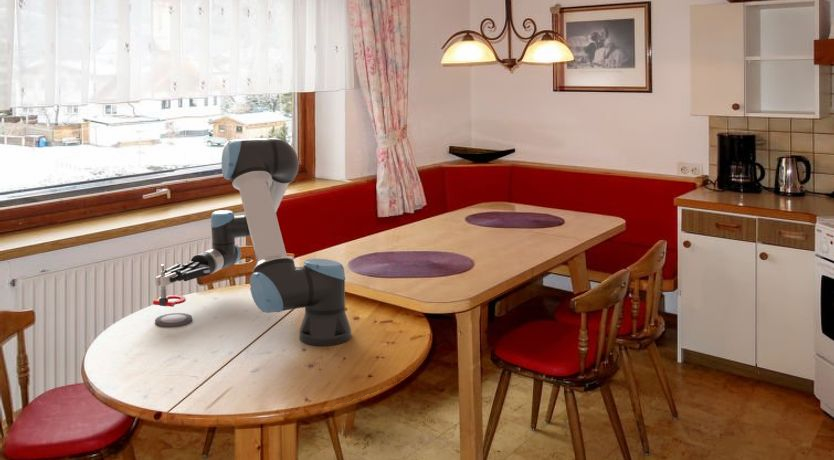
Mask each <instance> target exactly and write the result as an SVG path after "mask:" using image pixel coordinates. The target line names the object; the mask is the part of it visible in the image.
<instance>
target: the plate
mask: <svg viewBox="0 0 834 460" xmlns="http://www.w3.org/2000/svg"><path fill="white" fill-rule="evenodd" d="M192 321H193V316H192V315H191V314H189V313H185V312H184V313H183V312H174V313H173V312H172V313H167V314H162V315H159V316H157V317H156V318H155V320H154V322H155V323H154V324H155V325H156V326H159V327H160V328H161V327H162V328H163V327H164V328H176V327H181V326H186V325H188V324H190V323H192Z"/></svg>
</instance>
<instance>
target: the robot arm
mask: <svg viewBox="0 0 834 460" xmlns="http://www.w3.org/2000/svg"><path fill="white" fill-rule="evenodd" d="M221 154H222V155H221V173H222V177H223V179H225V180H227V181H230V180H231V184H232V187H233V188H234V189H236V190H238V191H239V195H240V198H241V203H242V207H243V211H244V214H241V215H235V214H234V212H233V211H232V210H225V209H224V210H216V211H213V212H212V213H211V214H210V215H211V216H210V228H211V249H208V250H205V251H203V252H201V253H198V254H196V255H194V256H192V258H191V260H190V261H187V262H185V263H183V264H181V263H180V262H175V264H173V265H172V266H170V267H168V268H166V269H164V271H165V276H164V277H161V274H159V275H158V276H155V277H154V278H155V280H154V281H155V283H154V284H155V287H159V286H160V287H163V286H165V287H166V286H168V285H170V284H174V283H177V281H178V282H181V281H184V282H188V281H191V280H194V279H199V278H204V277H207V276H210V275H212V274H215V273H216V272H218V271H220V270H223V269H226V268H228V267H231V266H233V265H235V264H237V263H238V262H239V261H240V259H241V257H242V251H241V248H240V246H239V245H238V244H236V239H235V238H245V237H250V238H251V243H252V247H253V251H254V255H255V259H256V265H255V266H254V267H253V273H252V274H251V276H250V278H249V285H250V289H249V290H250V294H251V296H252V299H253V302H254V303H255V306H256V307H257V308H258V309H259V310H260V311H262V312H263V313H266V314H269V313H281V312H283V311H288V310H289V311H291V310H296V309H301V308H302V309H303V308H304V314H303V319H302V321H301V324H300V325H301V326H300V328H299V339H300V341H301V342H303V343H305V344H308V345H313V346H327V347H328V346H335V345H339V344H344V343H345V342H347V341H349V340H350V339H351V337H352V328H351V324H350V322H349V320H348V319H349V318H348V316H347V314H346V275H345V273H346V272H345V267H344V266H343V264H342V263H341V262H338V261H336V260H333V259H328V258H327V259H326V258H307V259H305V260H304V261H303V266H297V267H296V265H295V261H294V259H293V258H292V257H290V256H288V255H287V251H286V248H285V247H286V246H285V243H284V240H283V236H282V232H281V229H280V225H279V221H278V220H279V219H278V216H277V212H278V209H279V207H280V205H281V202H282V200H283V198H284V195H285V194H286V191H287V189H288V187H289V185H290V183H292V182H293V181H294V180H295V179H296V177H297V175H298V173H299V168H300V167H299V166H300V161H299V156H298V154H297V152H296V151H295V148H293V146H292V145H291V144H290V143H288V142H287V141H285V140H283V139H280V138H277V137H268V138H266V137H264V138H248V139H247V138H244V139H242V138H238V139H231V140H227V141H226V143H225V144H224V146H223V148H222V153H221Z"/></svg>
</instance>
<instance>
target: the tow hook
mask: <svg viewBox="0 0 834 460" xmlns="http://www.w3.org/2000/svg"><path fill="white" fill-rule="evenodd" d="M160 266H161V271H160V275H161V277H164V276H165V271H164V270H165V265H164V264H161V265H160ZM160 287H161V286H160ZM173 299H175V300H173ZM186 299H187V298H186V296H183V295H179V294H177V295H176V294H175V295H174V294H173V295H172V294H171V295H167V289H166V286H163V287H161V288H160V297H158V298H157V299H154V300H153V302H152V304H153V305H154V306H160V307H170V308H173V307H174V306H175V305H180V304H182V303H185V302H187V301H186ZM169 300H171V301H169Z"/></svg>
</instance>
